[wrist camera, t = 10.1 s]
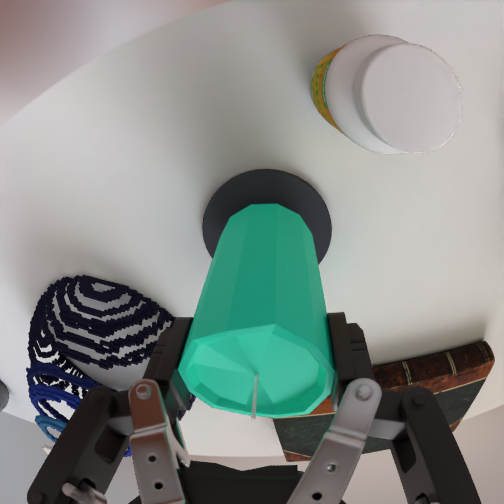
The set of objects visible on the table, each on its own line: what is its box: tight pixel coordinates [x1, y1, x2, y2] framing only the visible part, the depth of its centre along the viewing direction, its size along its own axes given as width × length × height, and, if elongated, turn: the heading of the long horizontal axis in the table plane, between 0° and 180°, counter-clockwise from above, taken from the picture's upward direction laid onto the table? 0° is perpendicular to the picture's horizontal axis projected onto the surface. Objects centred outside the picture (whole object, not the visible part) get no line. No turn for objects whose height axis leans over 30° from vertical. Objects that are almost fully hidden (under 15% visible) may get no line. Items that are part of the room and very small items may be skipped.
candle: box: [178, 204, 335, 419], centre depth 15 cm, size 6×6×12 cm
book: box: [272, 341, 495, 462], centre depth 31 cm, size 17×4×25 cm
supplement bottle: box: [310, 35, 462, 154], centre depth 12 cm, size 5×5×10 cm
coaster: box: [203, 169, 332, 265], centre depth 22 cm, size 9×9×1 cm
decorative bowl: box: [26, 275, 196, 457], centre depth 25 cm, size 20×20×14 cm
